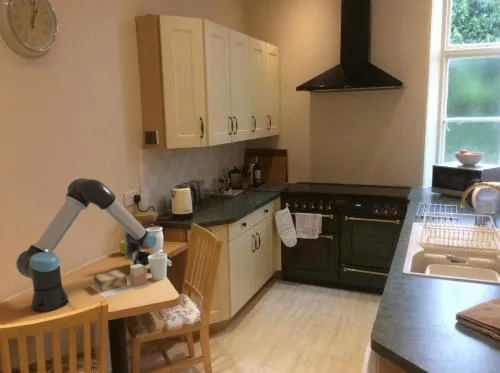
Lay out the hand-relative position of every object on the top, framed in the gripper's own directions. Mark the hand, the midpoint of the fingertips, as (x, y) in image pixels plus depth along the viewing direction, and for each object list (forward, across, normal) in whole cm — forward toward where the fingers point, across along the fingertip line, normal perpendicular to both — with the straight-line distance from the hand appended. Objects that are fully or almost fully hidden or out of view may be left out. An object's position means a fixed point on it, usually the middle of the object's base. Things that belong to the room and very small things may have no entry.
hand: (158, 266), depth 220 cm
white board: (-4, +18, -7) cm, 20 cm away
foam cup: (+1, 0, -7) cm, 7 cm away
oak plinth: (-7, +22, -5) cm, 24 cm away
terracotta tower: (+1, +12, -5) cm, 13 cm away
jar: (-47, -20, -7) cm, 52 cm away
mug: (-59, -8, -7) cm, 60 cm away
